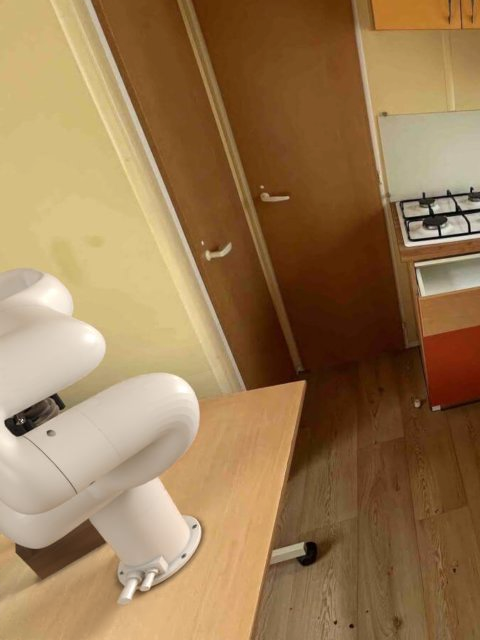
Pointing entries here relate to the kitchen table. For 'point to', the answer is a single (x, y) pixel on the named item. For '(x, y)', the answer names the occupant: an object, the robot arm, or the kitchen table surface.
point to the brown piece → (61, 550)
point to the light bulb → (42, 411)
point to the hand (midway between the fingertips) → (42, 422)
